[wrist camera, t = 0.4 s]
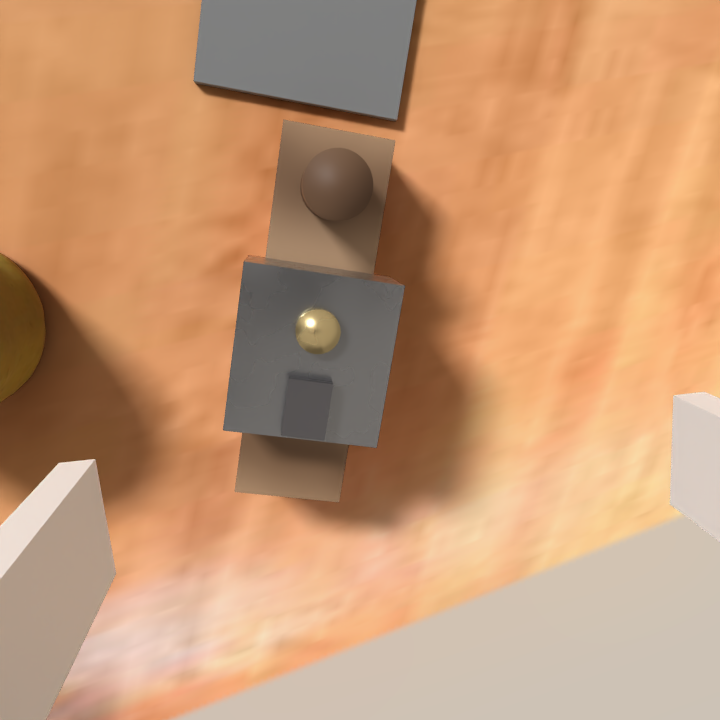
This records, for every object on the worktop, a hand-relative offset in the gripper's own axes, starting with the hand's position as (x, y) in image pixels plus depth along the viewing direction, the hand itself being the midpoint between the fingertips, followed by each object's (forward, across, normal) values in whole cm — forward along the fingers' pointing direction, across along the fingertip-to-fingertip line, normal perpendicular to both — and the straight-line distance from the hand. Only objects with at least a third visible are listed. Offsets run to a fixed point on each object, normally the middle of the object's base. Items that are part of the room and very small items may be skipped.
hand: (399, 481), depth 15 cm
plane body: (+21, -1, +1) cm, 21 cm away
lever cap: (+17, -2, 0) cm, 17 cm away
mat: (+21, 0, +15) cm, 26 cm away
